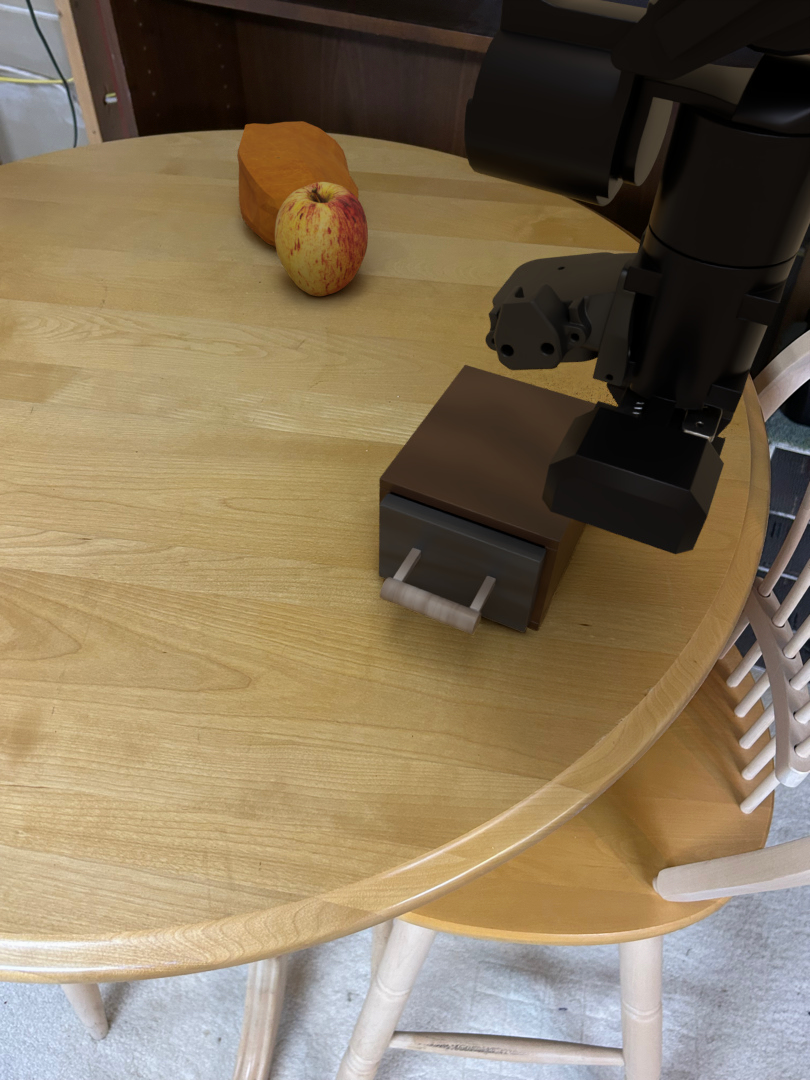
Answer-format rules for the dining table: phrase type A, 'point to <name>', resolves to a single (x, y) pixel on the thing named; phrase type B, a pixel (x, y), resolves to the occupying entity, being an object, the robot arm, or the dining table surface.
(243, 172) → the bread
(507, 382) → the cabinet
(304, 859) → the dining table surface
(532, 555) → the drawer
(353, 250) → the apple
